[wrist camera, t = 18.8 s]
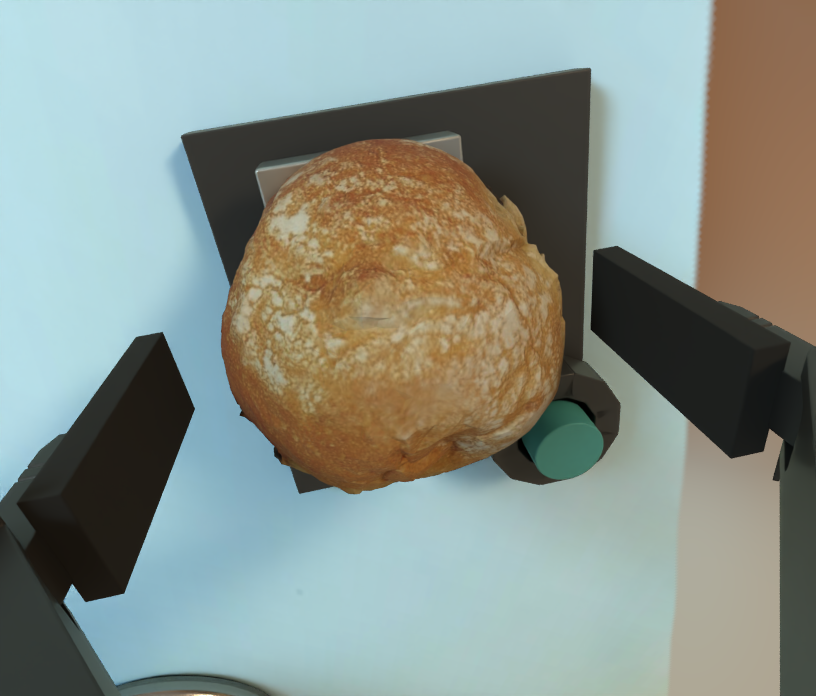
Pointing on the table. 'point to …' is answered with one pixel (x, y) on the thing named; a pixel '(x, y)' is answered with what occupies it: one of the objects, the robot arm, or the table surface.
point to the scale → (490, 160)
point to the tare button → (563, 441)
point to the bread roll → (391, 318)
